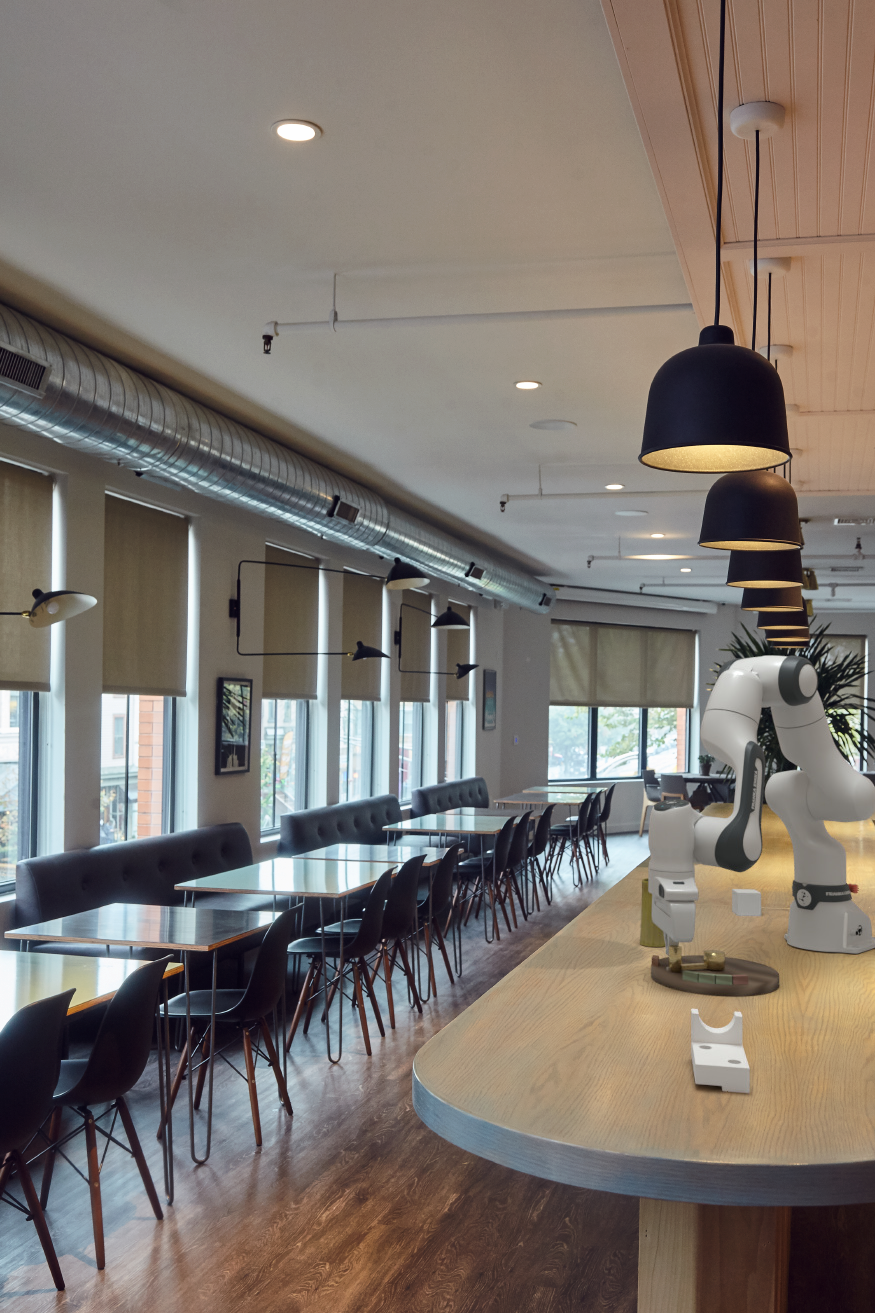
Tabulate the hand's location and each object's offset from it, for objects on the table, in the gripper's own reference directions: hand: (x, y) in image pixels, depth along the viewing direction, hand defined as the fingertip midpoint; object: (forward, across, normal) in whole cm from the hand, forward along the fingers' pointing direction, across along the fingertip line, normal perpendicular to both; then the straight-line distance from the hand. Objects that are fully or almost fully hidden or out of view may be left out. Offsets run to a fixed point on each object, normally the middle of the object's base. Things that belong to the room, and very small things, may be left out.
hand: (671, 956), depth 203 cm
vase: (+5, -31, +3) cm, 32 cm away
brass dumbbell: (+2, +1, +4) cm, 5 cm away
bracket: (+5, +55, -6) cm, 55 cm away
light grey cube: (+5, -70, +36) cm, 79 cm away
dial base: (+4, 0, +8) cm, 9 cm away
